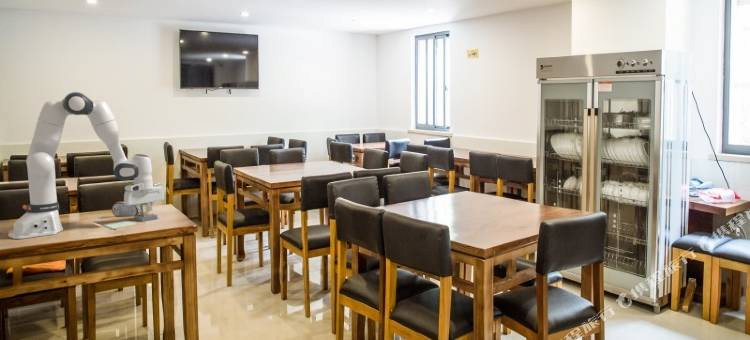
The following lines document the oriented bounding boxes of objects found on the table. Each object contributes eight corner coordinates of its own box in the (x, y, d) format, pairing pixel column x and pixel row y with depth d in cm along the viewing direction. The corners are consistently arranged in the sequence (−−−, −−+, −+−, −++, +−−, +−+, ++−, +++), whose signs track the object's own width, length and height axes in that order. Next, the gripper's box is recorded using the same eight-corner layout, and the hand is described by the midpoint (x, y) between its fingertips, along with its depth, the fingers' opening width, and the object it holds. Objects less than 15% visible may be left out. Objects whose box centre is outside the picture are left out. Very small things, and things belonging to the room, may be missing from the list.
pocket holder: (141, 224, 281) (141, 218, 280) (132, 221, 287) (131, 215, 287) (159, 220, 288) (159, 215, 288) (150, 218, 295) (150, 212, 294)
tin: (140, 216, 299) (139, 201, 298) (137, 218, 296) (136, 202, 294) (114, 216, 300) (113, 201, 299) (111, 217, 297) (110, 202, 296)
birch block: (144, 220, 285) (143, 205, 284) (140, 219, 287) (139, 204, 286) (151, 218, 288) (150, 204, 287) (147, 217, 290) (146, 203, 289)
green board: (113, 230, 268) (113, 228, 268) (102, 226, 276) (102, 224, 276) (137, 225, 277) (137, 223, 277) (126, 222, 285) (126, 220, 285)
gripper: (159, 182, 295) (161, 207, 297) (121, 187, 280) (123, 213, 282) (165, 183, 291) (167, 209, 293) (127, 188, 276) (129, 215, 277)
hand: (145, 211), depth 287 cm, fingers closed on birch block, 4 cm apart
